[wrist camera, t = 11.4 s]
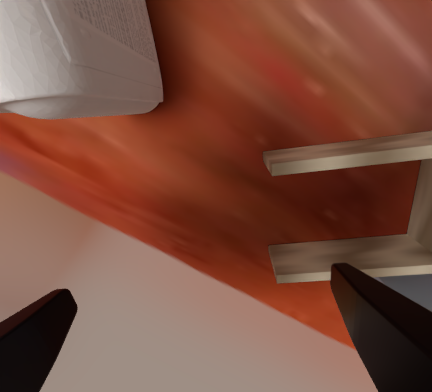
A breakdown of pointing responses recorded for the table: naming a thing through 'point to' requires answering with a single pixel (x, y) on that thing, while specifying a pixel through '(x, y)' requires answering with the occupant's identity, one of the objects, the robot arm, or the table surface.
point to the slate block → (412, 287)
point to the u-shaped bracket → (369, 246)
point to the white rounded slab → (77, 58)
